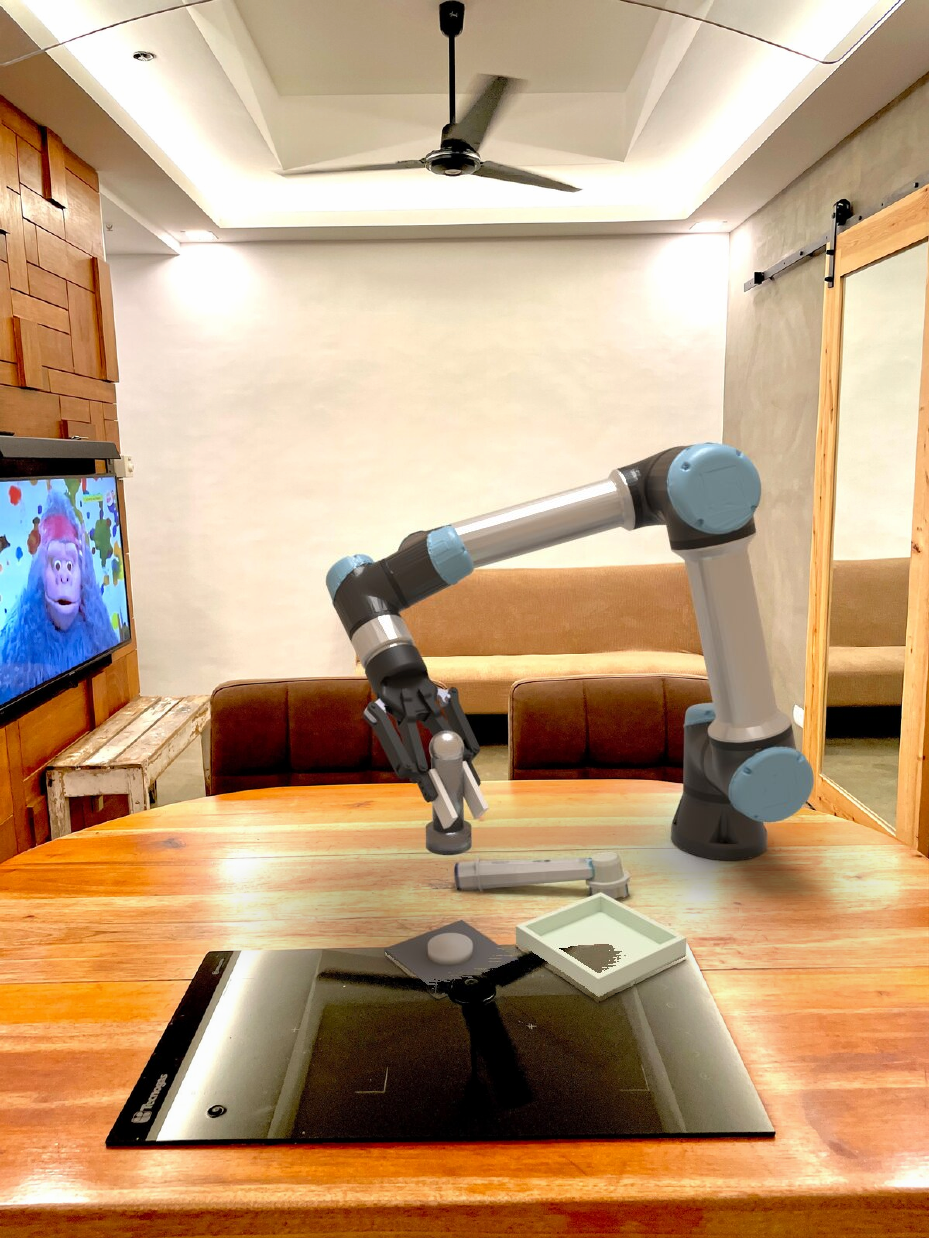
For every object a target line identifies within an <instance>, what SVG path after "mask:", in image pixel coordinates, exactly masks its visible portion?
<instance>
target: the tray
mask: <svg viewBox="0 0 929 1238" xmlns="http://www.w3.org/2000/svg"><path fill="white" fill-rule="evenodd" d="M516 944H518V945H520V946H522V947H524V948H527V949H528V950H529V951H532V952H533V953H534V954H536V955H538V956H539V957H540V958H542V959H544V960H545V961H547V962H548V963H549V964H551V965H553V966H555V967H556V968H558V969H559V970H561V972H564V973H565V974H566V975H568V976H570V977H571V978H572V979H574V980H575V981H576V982H578V983H579V984H581V985H583V986H585V988H587V989H588V990H589V991H590V992H592V993H594V994H595V995H596V996H598V997H600V996H603V995H604V994H606V993H607V992H610V991H612V990H613V989H616V988H619V987H621V986H623V985H626V984H628V983H630V982H633V981H634V980H636V979H639V978H640V977H642V976H643V975H647V974H648V973H650V972H654V971H655V970H657V969H659V968H662V967H663V966H666V965H669V964H671V963H672V962H674V961H677V960H679V959H681V958H683V957H685V956H686V957H687V937H686V936H684V935H682V934H681V933H678V932H677V931H675V930H673V929H671V928H669V927H667V926H665V925H663V924H661V923H660V922H658V921H656V920H654V919H652V918H650V917H648V916H646V915H645V914H643V913H641V912H639V911H637V910H635V909H633V908H632V907H630V906H628V905H626V904H624V903H621V902H620V901H618V900H616V898H615V899H613V898H611V897H609V896H607V895H605V894H603V893H601V892H600V893H598V894H595V895H593V896H591V895H590V896H588V897H585V898H583V899H580V900H578V901H575V902H573V903H570V904H567V905H565V906H562V907H560V908H557V909H554V910H552V911H550V912H547V913H545V914H542V915H539V916H537V917H535V918H532V919H529V920H527V921H524V922H522V923H519V924H517V925H515V945H516ZM594 944H609V945H612V946H613V948H615V949H614V951H622V952H620V953H619V954H616V955H621V956H619V958H621V959H619V960H617V957H618V956H617V957H613V958H616V959H615V960H614V961H616V963H613V964H608V965H616V966H613V967H608V968H609V969H607V970H605V969H604V970H605V971H604V970H602V972H601V973H597V972H595V971H594V970H592V969H591V968H589V967H588V966H586V965H584V964H583V963H581V962H580V961H578V960H577V959H575V958H574V957H572V956H570V955H569V954H567V953H566V952H564V951H563V950H561V949H559V948H568V947H570V946H578V945H594ZM609 951H610V950H609ZM624 955H626V956H624ZM609 961H610V960H609ZM617 961H619V962H617ZM602 968H607V967H602Z"/></svg>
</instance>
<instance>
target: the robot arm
mask: <svg viewBox="0 0 929 1238" xmlns="http://www.w3.org/2000/svg"><path fill="white" fill-rule="evenodd" d="M608 475H609V476H608V477H607V478H605V479H601V480H597V481H595V482H591V483H587V484H583V485H580V486H577V487H574V488H569V489H566V490H562V491H559V492H556V493H553V494H552V493H551V494H549V495H545V496H542V497H538V498H535V499H532V500H528V501H525V502H521V503H518V504H514V505H511V506H507V507H504V508H500V509H497V510H492V511H491V512H485V513H482V514H480V515H477V516H473V517H469V518H465V519H462V520H460V521H459V520H458V521H455V522H452V523H449V524H447V525H441V526H439V527H435V528H430V529H428V530H418V531H414V532H412V533H409V534H408V535H407V536H406V537H404V538H403V539H402V541H401V542H400V544H399V545H398V546H399V547H398V549H397V551H395V552H393V553H391V554H390V555H388V556H387V557H384V558H382V559H379V560H377V561H374V560H373V558H372V557H371V556H369V555H366V554H363V553H362V554H361V553H356V554H354V555H353V556H348V555H347V556H345V557H343V558H341V559H339V560H337V561H336V562H335V563H333V565H332V566H330V568H329V570H328V571H327V573H326V576H325V586H326V589H327V590H328V594H329V597H330V598H331V601H332V602H331V604H332V607H333V608H334V610H335V612H336V614H337V616H338V618H339V620H340V623H341V624H342V627H343V628H344V630H345V632H346V635H347V637H348V638H349V642H350V644H351V645H352V647H353V649H354V652H355V654H356V656H357V658H358V661H359V663H360V664H361V666H362V668H363V670H364V674H365V677H366V678H367V679H366V680H368V682H369V685H370V687H371V689H372V691H373V694H374V695H375V696H376V700H375V701H370V702H369V703H368V704H367V706H366V708H365V709H364V711H363V713H362V715H361V716H362V718H363V720H365V722H367V724H368V725H369V726H370V727H371V728H372V729H373V732H375V735H376V737H377V739H378V741H379V742H380V745H381V747H382V750H384V753H385V754H386V757H387V759H388V761H389V763H390V765H391V767H392V769H393V770H394V773H395V775H396V776H397V778H398V779H400V780H404V779H406V778H408V781H409V782H410V783H411V784H417V786H418V788H419V790H420V792H421V795H422V797H423V799H424V801H425V802H426V803H428V804H429V803H431V804H433V806H434V809H435V811H436V813H437V815H438V817H439V819H440V822H441V824H442V826H443V828H444V829H445V828H448V827H450V826H451V824H452V823H453V822H454V821H455V820H456V819H457V817H458V815H457V813H456V811H455V809H454V807H453V805H452V803H451V801H450V799H449V796H448V794H447V792H446V790H445V788H444V786H443V784H442V782H441V780H440V777H439V775H438V773H437V771H436V769H429V767H428V766H429V765H428V762H427V759H426V754H425V750H424V747H423V744H422V739H421V735H420V732H419V728H418V725H417V722H420V723H421V725H422V726H423V727H424V728H425V729H428V730H429V732H430V733H431V735H432V736H433V737H434V736H435V735H436V734H437V733H439V732H441V731H445V730H448V731H453V732H455V733H457V734H458V735H459V736H460V737H461V739H462V741H463V743H464V753H463V800H465V803H466V805H467V807H468V809H469V811H470V813H471V815H472V817H473V820H477V819H478V820H479V819H480V818H481V817H482V816H483V815H484V814H485V813H486V812H487V811H488V810H489V808H490V807H489V804H488V803H487V801H486V798H485V796H484V795H483V792H482V791H481V789H480V785H482V783H481V779H480V777H479V774H478V772H477V771H476V769H475V767H474V765H473V760H474V759H475V758H476V757H477V755H478V754H479V753H480V752H481V747H480V745H479V743H478V741H477V738H476V736H475V734H474V732H473V730H472V728H471V725H470V723H469V720H468V719H467V716H466V714H465V712H464V710H463V707H462V705H461V703H460V698H459V696H460V695H459V690H458V688H457V687H455V686H451V687H449V689H443V688H438V686H437V684H436V683H435V682H433V680H432V679H431V678H430V675H429V671H428V667H427V665H426V663H425V661H424V659H423V657H422V655H421V653H420V651H419V649H418V647H416V644H415V640H414V637H412V634H411V632H410V631H409V629H408V627H407V625H406V623H405V621H404V619H403V618H402V615H401V612H403V611H405V610H407V609H409V608H411V607H412V606H414V605H416V604H418V603H419V602H421V601H423V600H425V599H427V598H430V597H431V596H433V595H435V594H437V593H439V592H441V591H443V590H445V589H447V588H449V587H451V586H455V585H457V584H458V583H459V582H460V581H461V580H463V579H465V578H467V577H468V576H470V575H472V573H473V572H474V569H478V568H482V567H485V566H488V565H491V564H495V563H499V562H503V561H506V560H509V559H512V558H516V557H520V556H522V555H527V554H530V553H534V552H539V551H541V550H545V549H548V548H552V547H555V546H557V545H558V546H559V545H561V544H565V543H568V542H572V541H576V540H579V539H582V538H586V537H590V536H593V535H596V534H599V533H603V532H607V531H611V530H614V529H617V528H618V529H619V528H622V529H624V530H626V531H628V532H632V531H634V530H638V529H641V528H645V527H652V526H666V527H665V528H666V531H667V536H668V541H669V546H670V551H671V552H672V553H674V554H675V555H676V556H679V557H680V558H681V559H682V560H684V564H685V569H686V574H687V581H688V584H689V589H690V595H691V600H692V605H693V610H694V615H695V619H696V624H697V629H698V634H699V635H698V636H699V641H700V645H701V650H702V655H703V660H704V665H705V669H706V676H707V680H708V685H709V690H710V695H711V700H712V702H705V703H698V704H694V705H693V704H692V705H690V706H689V707H688V708H687V709H686V711H685V717H684V724H683V731H684V732H683V775H682V776H683V777H682V779H683V783H682V785H683V787H682V788H683V789H682V794H681V796H680V800H679V803H678V805H677V808H676V811H675V814H674V816H673V819H672V821H671V825H670V826H671V827H670V839H671V842H672V843H673V844H674V845H675V846H676V847H678V848H679V849H681V850H682V851H685V852H687V853H689V854H692V855H695V856H698V857H702V858H708V859H713V860H720V861H739V860H740V861H741V860H747V859H752V858H755V857H758V856H759V855H761V854H763V853H764V852H765V851H766V850H767V848H768V831H767V829H766V825H765V823H776V822H777V823H778V822H780V821H784V820H786V819H789V818H791V817H792V816H793V815H795V814H796V813H797V812H799V811H800V810H801V809H802V808H803V805H804V804H805V803H806V802H807V801H808V800H809V798H810V797H811V794H812V792H813V788H814V781H815V777H814V776H815V775H814V771H813V768H812V765H811V763H810V762H809V760H808V759H807V758H806V756H805V754H803V753H802V752H801V751H800V750H798V749H797V746H796V742H795V740H796V739H795V735H794V729H793V724H792V719H791V717H790V716H789V714H787V713H785V712H784V711H782V710H780V709H779V708H778V707H777V706H778V705H777V700H776V696H775V695H776V694H775V690H774V683H773V680H772V679H773V678H772V674H771V673H772V672H771V668H770V663H769V657H768V651H767V647H766V641H765V640H766V639H765V636H764V631H763V626H762V620H761V615H760V609H759V603H758V598H757V593H756V588H755V582H754V576H753V571H752V565H751V560H750V555H749V550H748V549H749V545H750V544H751V542H752V541H753V539H754V538H755V537H756V535H757V529H756V524H755V523H756V522H755V517H754V514H755V513H756V511H757V508H758V507H759V506H760V505H759V504H760V502H761V499H762V498H761V497H762V482H761V478H760V475H759V472H758V470H757V468H756V466H755V464H754V463H753V462H752V460H751V459H750V458H749V457H748V456H747V454H745V453H743V452H742V451H741V450H739V449H737V448H735V447H733V446H730V445H727V444H721V443H718V442H703V443H697V444H691V445H689V444H688V445H679V446H678V445H677V446H674V447H670V448H667V449H664V450H662V451H660V452H657V453H655V454H653V455H650V456H648V457H645V458H644V459H641V460H638V461H636V462H634V463H630V464H627V465H624V466H622V467H618V468H615V469H612V470H611V472H610V474H608ZM437 701H439V704H438V702H437ZM441 708H443V710H442V709H441ZM443 714H444V715H443ZM388 715H390V717H391V716H392V717H393V718H394V721H395V725H396V729H397V731H396V729H395V726H394V724H393V723H392V721H391V719H390V718H389V716H388ZM397 732H398V733H400V736H401V738H400V736H399V734H398V733H397ZM428 769H429V770H428Z"/></svg>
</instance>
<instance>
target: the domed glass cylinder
mask: <svg viewBox="0 0 929 1238" xmlns="http://www.w3.org/2000/svg"><path fill="white" fill-rule="evenodd" d="M428 749H429V750H428V751H429V754H430V763H431V764H430V765H431V769H436V771H437V773H438V775H439V777H440V780H441V782H442V784H443V786H444V788H445V790H446V792H447V794H448V796H449V799H450V801H451V803H452V805H453V807H454V809H455V811H456V813H457V815H458V817H457V819H456V820H455V821H454V822H453V823H452V824H451V826H450V827H448V828H445V829H444V828H443V826H442V824H441V822H440V819H439V817H438V815H437V813H436V811H435V809H434V806H433V804H432V803H431V804H432V806H431V807H432V810H431V811H432V820H431V821H430V822H428V823H427V824H426V825H425V848H426V850H427V851H428V852H430V853H432V854H434V855H438V856H439V855H440V856H455V855H461V854H464V853H466V852H468V851H470V850H471V848H472V846H473V845H472V844H473V841H472V839H473V838H472V836H473V835H472V824H471V823H470V822H469V821H467V820H465V814H464V812H465V811H464V809H465V807H464V805H465V804H464V800H465V799H464V797H463V753H464V743H463V741H462V739H461V737H460V736H459V735H458V734H457V733H455V732H453V731H448V730H445V731H441V732H439V733H437V734H436V735H435V736H433V737H432V738H431V740H430V742H429V746H428ZM431 769H430V770H431Z"/></svg>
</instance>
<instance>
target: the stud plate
mask: <svg viewBox="0 0 929 1238" xmlns="http://www.w3.org/2000/svg"><path fill="white" fill-rule="evenodd" d="M497 948H503V947H502V946H501V945H500V944H498V943H496V942H495V941H493V940H492V939H491V938H489V937H487V936H486V935H485V934H484V933H482V932H481V931H480V930H478V929H476V928H475V927H473V926H472V925H470V924H469V923H467V922H466V921H465V920H463V919H460V920H457V921H455V922H451V923H449V924H446V925H443V926H441V927H438V928H435V929H433V930H430V931H427V932H425V933H422V934H419V935H417V936H414V937H412V938H408V939H406V940H403V941H401V942H397V943H395V944H393V945H390V946H387V947H384V953H385V952H386V953H387V955H390V956H391V957H392V958H394V960H396V961H398V962H399V963H400V964H401V965H403V966H404V967H405V968H407V969H408V970H409V971H410V972H412V973H413V974H414V975H416V976H417V977H418V978H419V979H421V980H422V981H423V982H425V983H426V984H427V985H438V984H435V983H429V982H441V981H444V982H450V981H447V980H445V979H454V980H455V979H462V978H461V977H459V976H458V975H481V974H482V973H476V974H475V973H473V972H484V973H485V972H488V971H490V970H487V969H485V970H478V969H474V968H498V967H500V966H502V965H505V964H507V963H510V962H511V961H515V960H518V961H519V958H518V957H517V956H515V955H514V956H513V957H510V956H504V955H510V954H511V955H513V954H512V953H510V952H509V951H508V952H506V951H507V949H505V950H502V949H497ZM493 955H494V956H493ZM496 955H503V956H496ZM489 958H502V959H489ZM489 961H501V962H489ZM490 965H491V966H490ZM492 970H493V969H492ZM448 972H451V973H448ZM459 972H469V973H459ZM451 975H457V976H451ZM462 977H468V978H473V977H472V976H462ZM434 979H437V980H434ZM438 980H440V981H438ZM434 987H435V986H434ZM432 989H434V988H432Z"/></svg>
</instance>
